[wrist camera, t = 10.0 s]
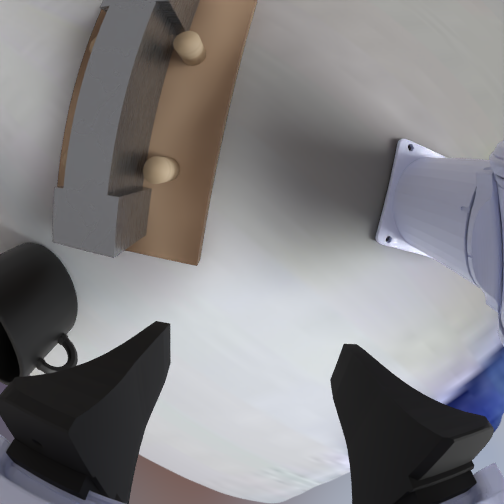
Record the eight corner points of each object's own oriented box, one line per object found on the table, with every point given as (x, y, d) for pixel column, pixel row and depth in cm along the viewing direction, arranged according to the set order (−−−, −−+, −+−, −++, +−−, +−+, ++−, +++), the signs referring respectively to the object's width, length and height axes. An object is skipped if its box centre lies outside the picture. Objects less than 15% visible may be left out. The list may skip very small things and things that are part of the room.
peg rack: (256, 2, 15) (257, -24, 11) (199, 260, 20) (189, 279, 17) (113, 2, 14) (95, -17, 11) (63, 230, 20) (37, 241, 16)
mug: (82, 364, 24) (40, 423, 15) (4, 289, 22) (-49, 327, 13) (117, 308, 22) (62, 374, 13) (25, 220, 20) (-47, 249, 11)
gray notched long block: (143, 2, 13) (118, -30, 9) (199, 1, 14) (185, -38, 9) (92, 224, 18) (52, 242, 14) (146, 235, 19) (114, 257, 14)
